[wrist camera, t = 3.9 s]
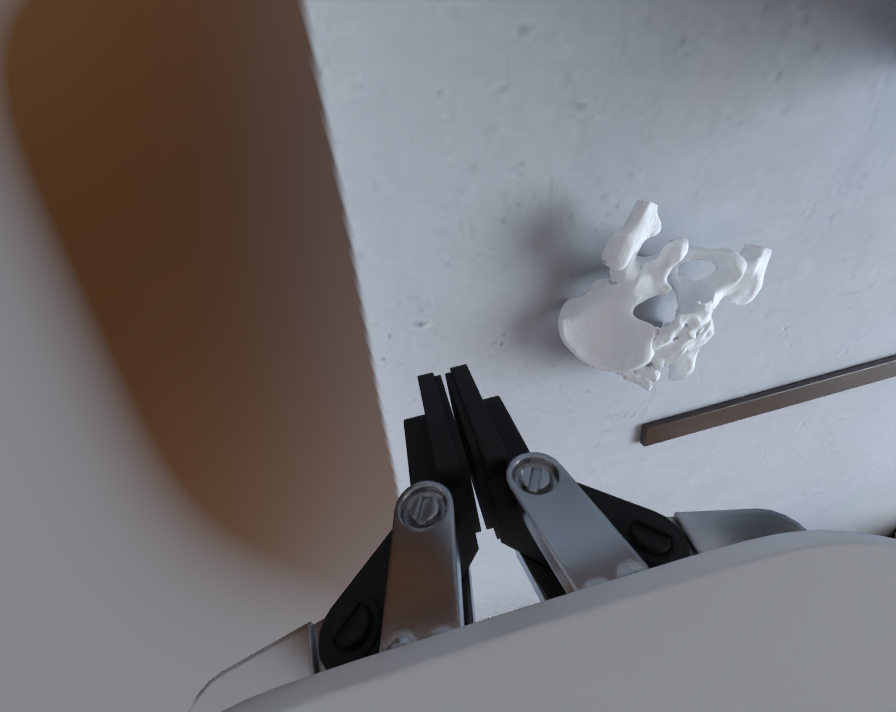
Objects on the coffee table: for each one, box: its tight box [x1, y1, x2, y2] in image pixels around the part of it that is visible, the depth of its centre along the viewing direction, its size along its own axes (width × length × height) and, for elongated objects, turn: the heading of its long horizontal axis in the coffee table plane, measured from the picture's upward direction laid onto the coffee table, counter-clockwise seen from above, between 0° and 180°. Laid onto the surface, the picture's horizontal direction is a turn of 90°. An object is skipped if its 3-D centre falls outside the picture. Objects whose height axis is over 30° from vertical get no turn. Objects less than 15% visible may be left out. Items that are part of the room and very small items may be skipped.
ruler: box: [640, 356, 896, 447], centre depth 22 cm, size 2×24×1 cm, turn 100°
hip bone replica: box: [558, 200, 772, 391], centre depth 14 cm, size 8×4×7 cm
